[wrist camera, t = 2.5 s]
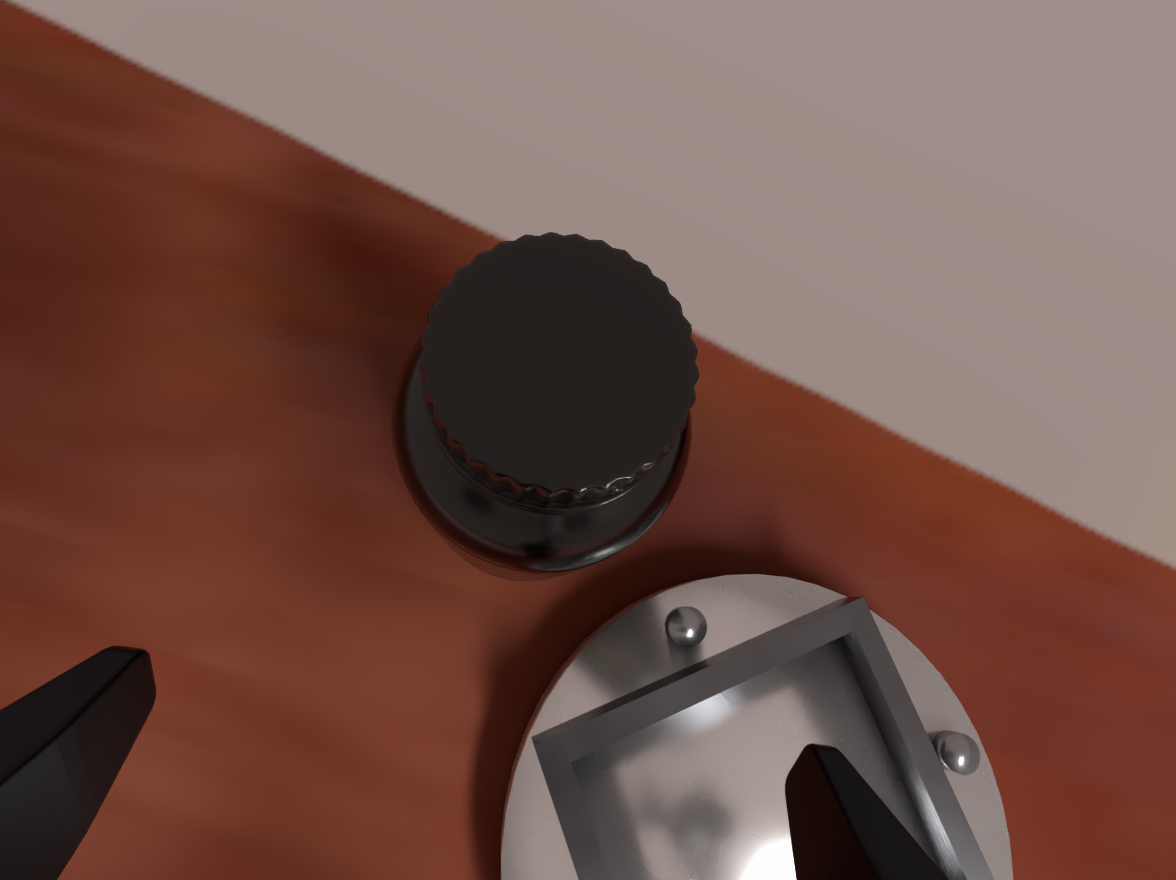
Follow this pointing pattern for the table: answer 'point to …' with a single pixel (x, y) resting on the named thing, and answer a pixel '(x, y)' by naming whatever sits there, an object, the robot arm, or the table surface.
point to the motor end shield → (739, 740)
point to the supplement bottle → (547, 406)
